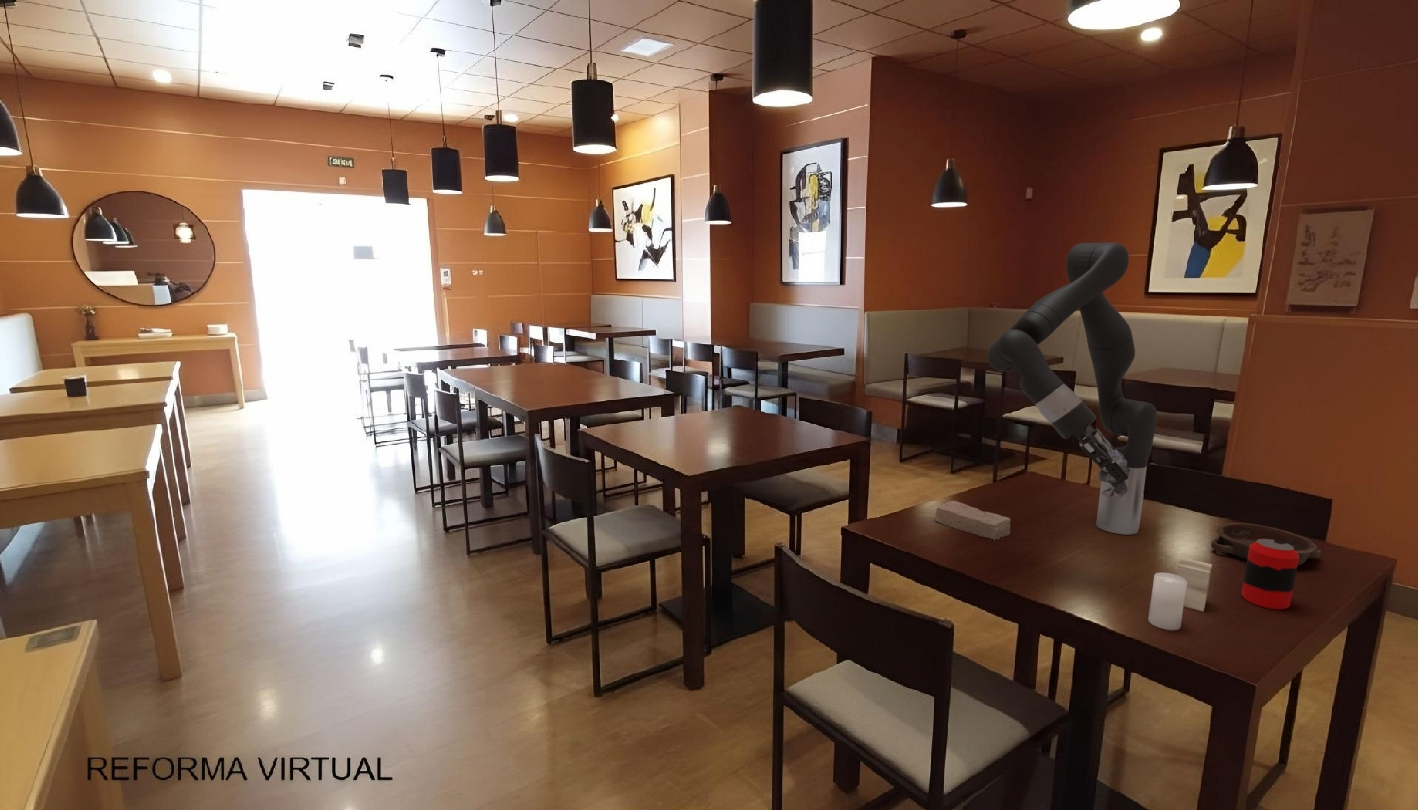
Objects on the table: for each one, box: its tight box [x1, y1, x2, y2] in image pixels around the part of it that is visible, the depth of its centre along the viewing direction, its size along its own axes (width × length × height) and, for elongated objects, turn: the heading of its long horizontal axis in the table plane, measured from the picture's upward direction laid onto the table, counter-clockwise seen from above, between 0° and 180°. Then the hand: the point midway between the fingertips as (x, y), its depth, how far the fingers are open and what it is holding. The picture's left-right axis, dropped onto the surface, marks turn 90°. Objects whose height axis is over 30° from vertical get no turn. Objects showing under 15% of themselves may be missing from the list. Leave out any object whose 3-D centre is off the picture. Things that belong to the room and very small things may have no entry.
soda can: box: [1241, 539, 1299, 611], centre depth 134 cm, size 8×8×12 cm
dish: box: [1210, 522, 1322, 566], centre depth 157 cm, size 18×22×5 cm
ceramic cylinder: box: [1147, 572, 1187, 631], centre depth 126 cm, size 5×5×9 cm
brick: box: [935, 500, 1011, 541], centre depth 173 cm, size 17×8×5 cm, turn 40°
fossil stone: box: [1098, 449, 1129, 497], centre depth 137 cm, size 5×5×10 cm
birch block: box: [1176, 557, 1213, 612], centre depth 134 cm, size 5×5×8 cm
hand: (1124, 476), depth 136 cm, fingers closed on fossil stone, 4 cm apart
